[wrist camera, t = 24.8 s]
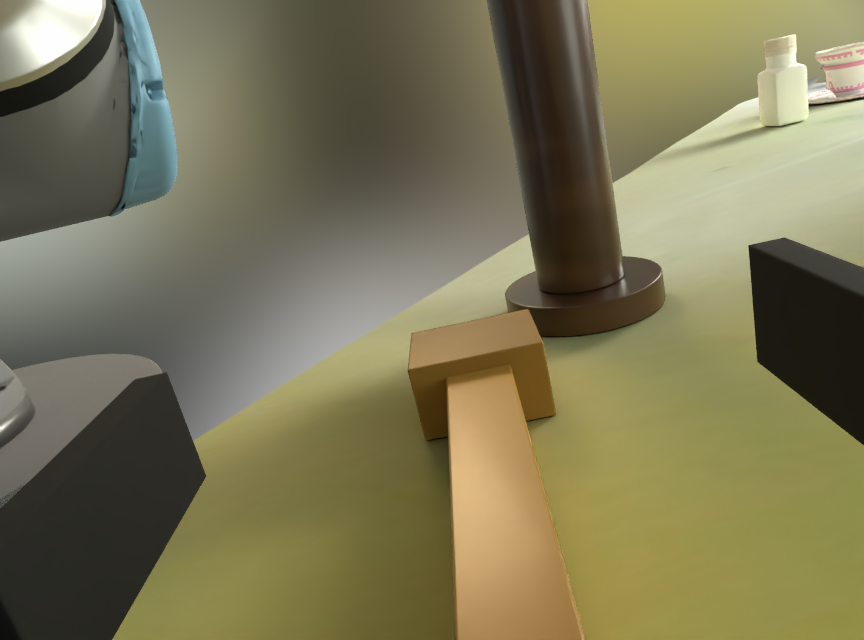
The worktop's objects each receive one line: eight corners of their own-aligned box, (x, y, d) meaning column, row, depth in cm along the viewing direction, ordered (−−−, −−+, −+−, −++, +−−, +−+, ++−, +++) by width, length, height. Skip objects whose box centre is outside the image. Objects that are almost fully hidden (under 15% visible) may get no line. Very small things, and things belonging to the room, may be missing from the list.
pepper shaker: (790, 119, 81) (785, 35, 78) (811, 119, 77) (807, 31, 74) (758, 126, 80) (752, 43, 77) (778, 127, 77) (773, 40, 74)
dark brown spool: (458, 344, 34) (290, -396, 25) (535, 279, 42) (429, -303, 32) (659, 346, 29) (539, -606, 19) (704, 271, 36) (634, -434, 27)
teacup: (918, 88, 81) (919, 34, 79) (807, 109, 85) (805, 58, 83) (886, 83, 92) (885, 35, 90) (788, 102, 96) (786, 57, 94)
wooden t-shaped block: (412, 856, 11) (368, 726, 11) (427, 396, 29) (411, 332, 28) (705, 812, 11) (687, 674, 10) (540, 373, 29) (528, 308, 28)
